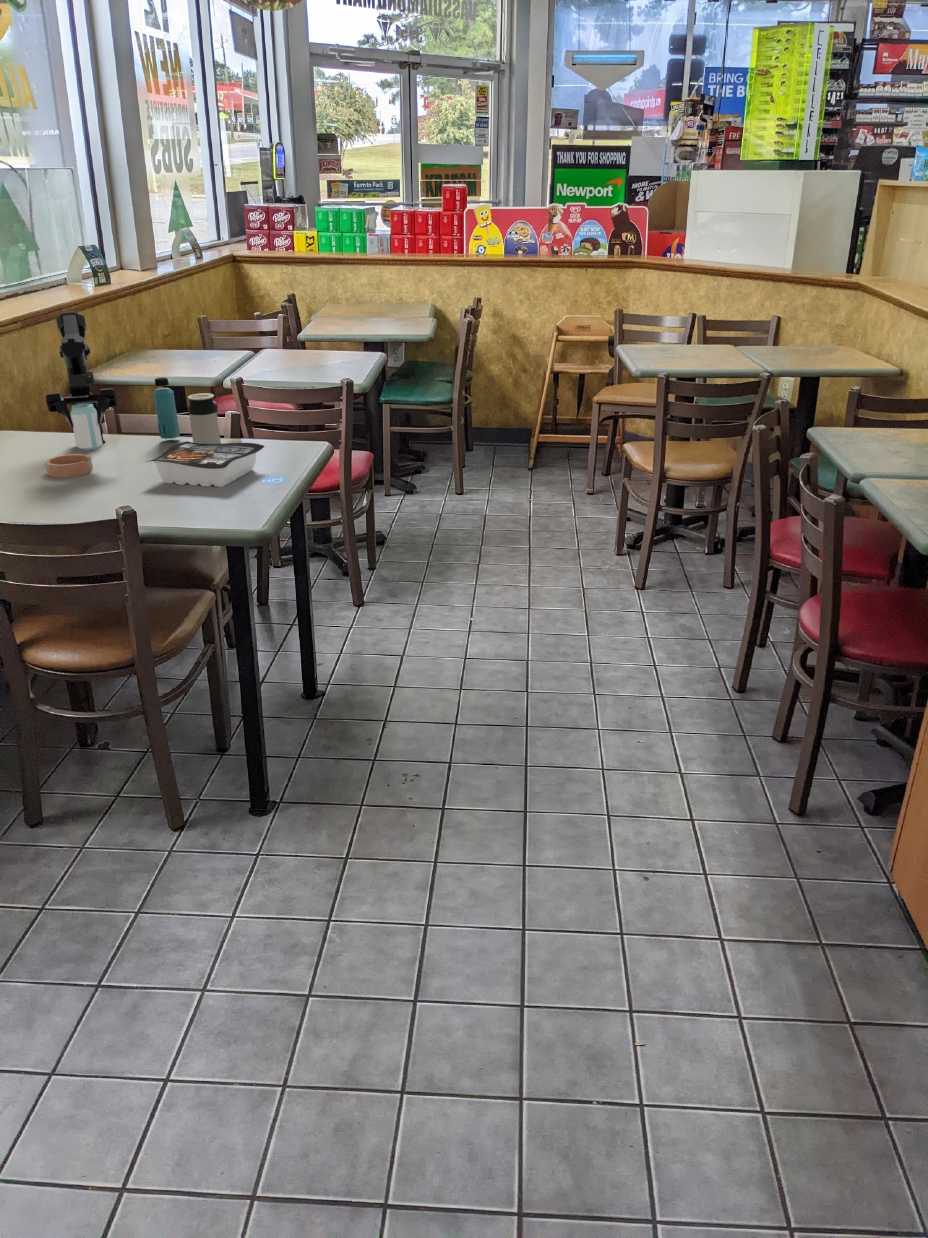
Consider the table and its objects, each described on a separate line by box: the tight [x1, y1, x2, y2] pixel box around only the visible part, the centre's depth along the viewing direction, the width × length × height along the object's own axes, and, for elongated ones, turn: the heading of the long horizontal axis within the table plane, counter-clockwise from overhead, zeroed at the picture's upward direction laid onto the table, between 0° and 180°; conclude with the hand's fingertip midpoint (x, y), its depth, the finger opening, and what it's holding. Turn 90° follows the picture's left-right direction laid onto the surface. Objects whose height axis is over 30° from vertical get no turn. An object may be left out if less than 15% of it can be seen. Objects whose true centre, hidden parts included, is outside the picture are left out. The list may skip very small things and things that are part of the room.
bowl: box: [44, 453, 94, 479], centre depth 283 cm, size 12×12×4 cm
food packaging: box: [145, 441, 266, 488], centre depth 274 cm, size 25×8×23 cm
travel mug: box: [187, 392, 222, 444], centre depth 292 cm, size 8×8×18 cm
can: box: [69, 404, 103, 451], centre depth 279 cm, size 7×7×12 cm
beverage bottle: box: [152, 376, 181, 440], centre depth 309 cm, size 6×7×20 cm
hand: (85, 425), depth 278 cm, fingers closed on can, 7 cm apart
